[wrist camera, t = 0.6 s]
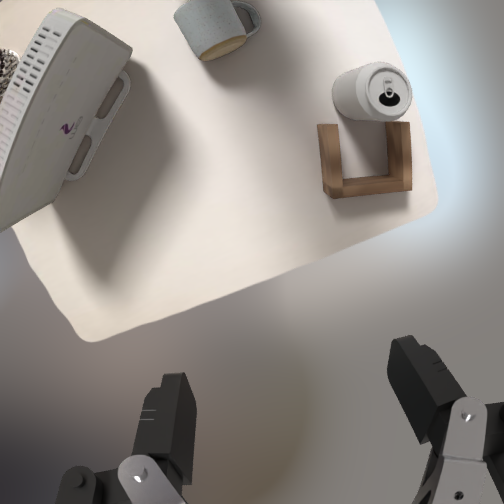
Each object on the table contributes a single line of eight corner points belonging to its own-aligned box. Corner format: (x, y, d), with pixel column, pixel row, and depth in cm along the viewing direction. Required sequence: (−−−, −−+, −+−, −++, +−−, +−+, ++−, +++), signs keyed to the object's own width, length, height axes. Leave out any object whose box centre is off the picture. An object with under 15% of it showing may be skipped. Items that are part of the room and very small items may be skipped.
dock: (317, 124, 43) (326, 125, 38) (393, 121, 43) (409, 122, 38) (323, 191, 47) (333, 198, 42) (396, 183, 47) (412, 190, 42)
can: (335, 123, 43) (367, 124, 32) (325, 74, 40) (355, 60, 29) (380, 118, 43) (421, 120, 32) (372, 70, 40) (411, 59, 29)
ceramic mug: (202, 68, 39) (197, 57, 32) (177, 24, 36) (167, 7, 29) (270, 38, 38) (278, 22, 31) (244, -5, 35) (247, -27, 28)
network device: (71, 204, 45) (-3, 253, 27) (33, 179, 43) (-48, 215, 24) (151, 58, 38) (96, 21, 19) (106, 36, 36) (36, -2, 17)
